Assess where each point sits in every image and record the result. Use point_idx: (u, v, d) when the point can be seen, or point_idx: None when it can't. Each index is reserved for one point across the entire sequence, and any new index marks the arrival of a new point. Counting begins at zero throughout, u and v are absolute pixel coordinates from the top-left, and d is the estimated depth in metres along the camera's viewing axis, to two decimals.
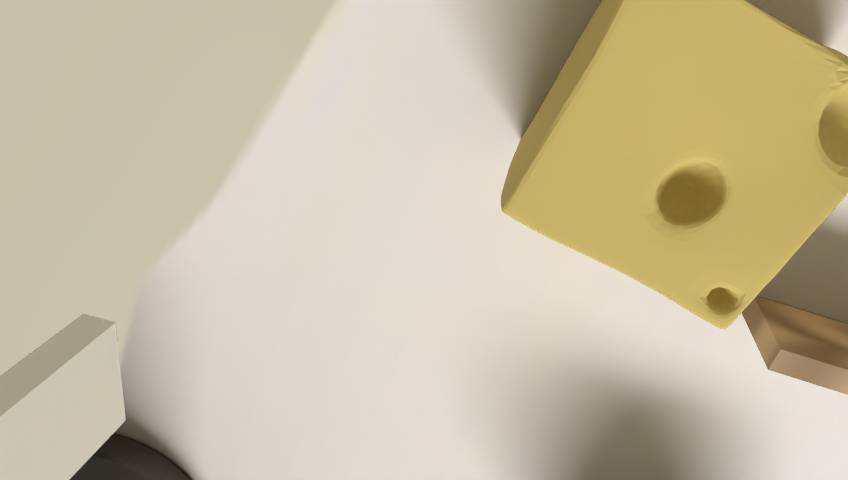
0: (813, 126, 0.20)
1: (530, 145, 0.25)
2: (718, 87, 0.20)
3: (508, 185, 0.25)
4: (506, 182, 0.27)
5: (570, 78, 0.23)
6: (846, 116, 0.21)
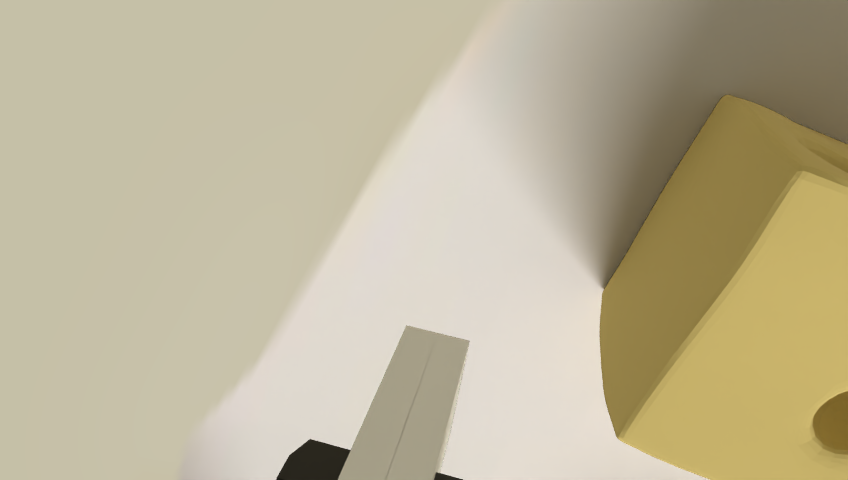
0: None
1: (635, 338, 0.22)
2: None
3: (614, 390, 0.21)
4: (606, 374, 0.23)
5: (684, 274, 0.20)
6: None
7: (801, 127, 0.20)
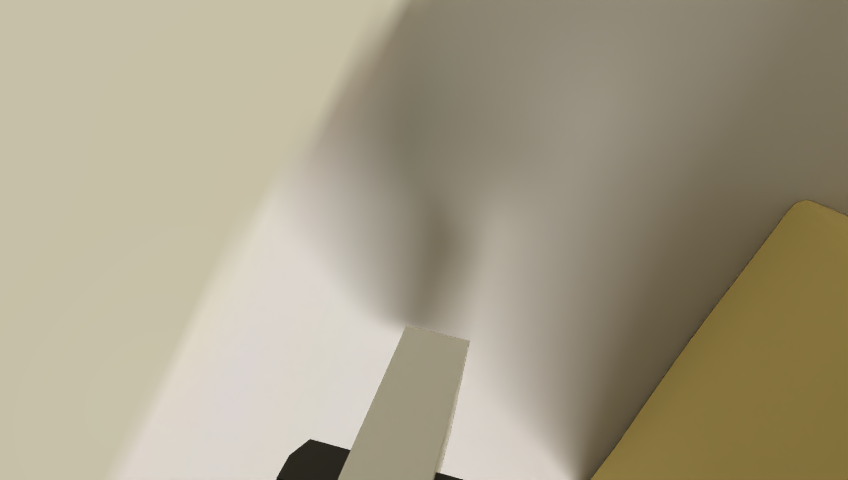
0: None
1: None
2: None
3: None
4: None
5: None
6: None
7: None
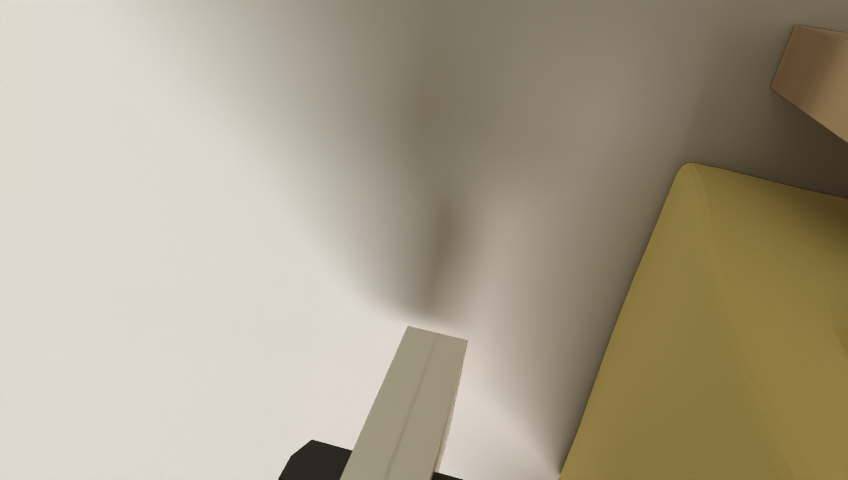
0: None
1: None
2: None
3: None
4: None
5: None
6: None
7: (836, 243, 0.09)
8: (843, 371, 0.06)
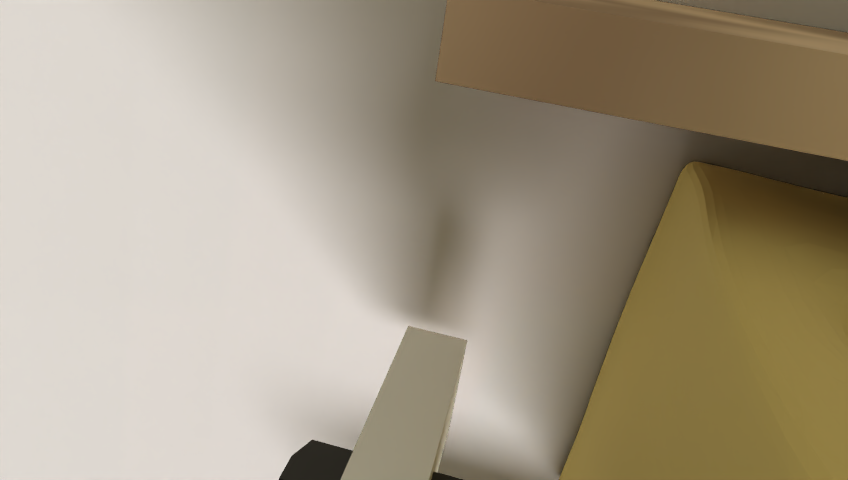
0: None
1: None
2: None
3: None
4: None
5: None
6: None
7: (843, 243, 0.09)
8: None
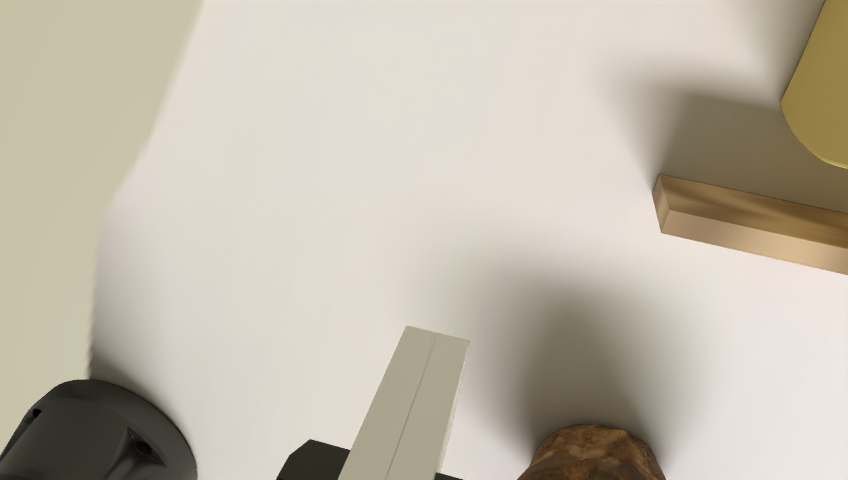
0: None
1: (842, 97, 0.24)
2: None
3: (832, 143, 0.24)
4: (814, 143, 0.25)
5: None
6: None
7: None
8: None
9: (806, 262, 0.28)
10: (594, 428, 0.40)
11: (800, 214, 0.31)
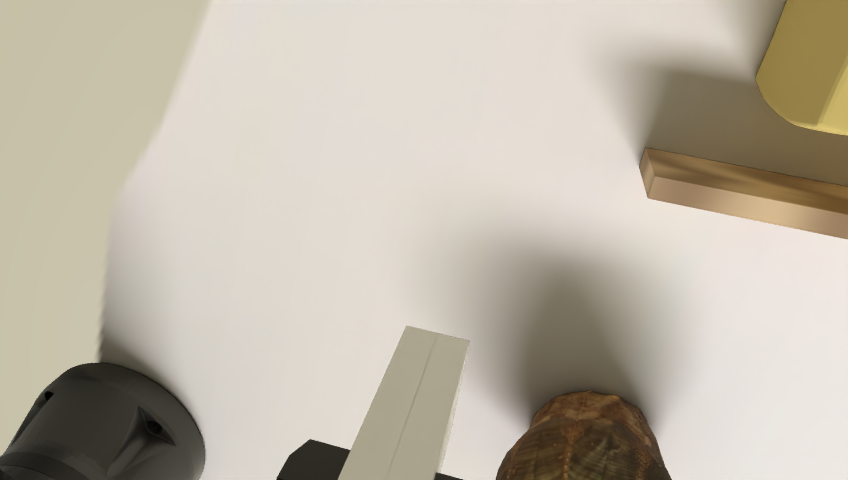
0: None
1: (808, 65, 0.26)
2: None
3: (800, 107, 0.26)
4: (785, 109, 0.27)
5: None
6: None
7: None
8: None
9: (781, 222, 0.31)
10: (588, 394, 0.42)
11: (776, 181, 0.33)
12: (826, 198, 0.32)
